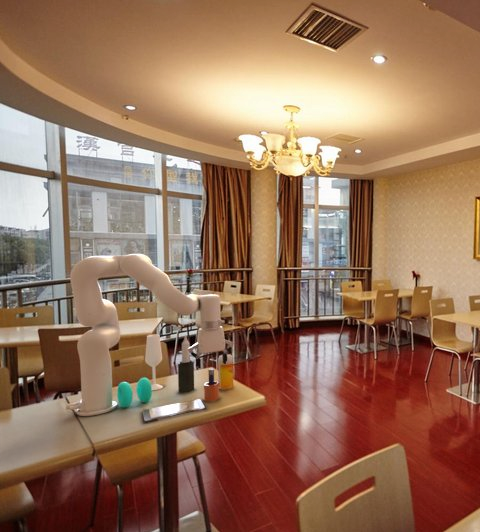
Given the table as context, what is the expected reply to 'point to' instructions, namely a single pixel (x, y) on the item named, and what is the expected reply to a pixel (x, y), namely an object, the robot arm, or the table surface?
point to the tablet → (172, 410)
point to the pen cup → (211, 391)
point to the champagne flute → (153, 356)
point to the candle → (185, 370)
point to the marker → (211, 376)
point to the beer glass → (225, 372)
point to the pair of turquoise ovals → (126, 394)
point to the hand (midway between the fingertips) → (211, 365)
